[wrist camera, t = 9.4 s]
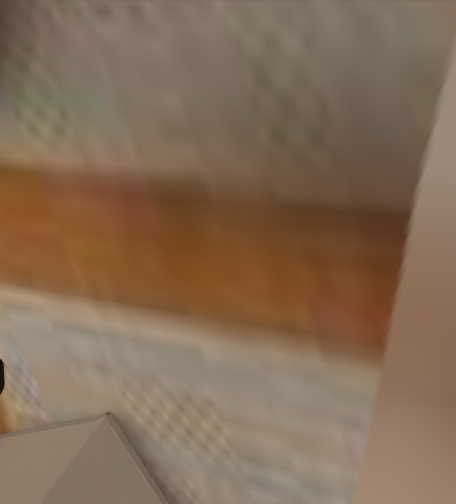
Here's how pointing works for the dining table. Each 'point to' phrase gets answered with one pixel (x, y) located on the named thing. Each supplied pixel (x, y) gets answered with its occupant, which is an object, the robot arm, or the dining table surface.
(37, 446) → the white square box
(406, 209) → the dining table surface
